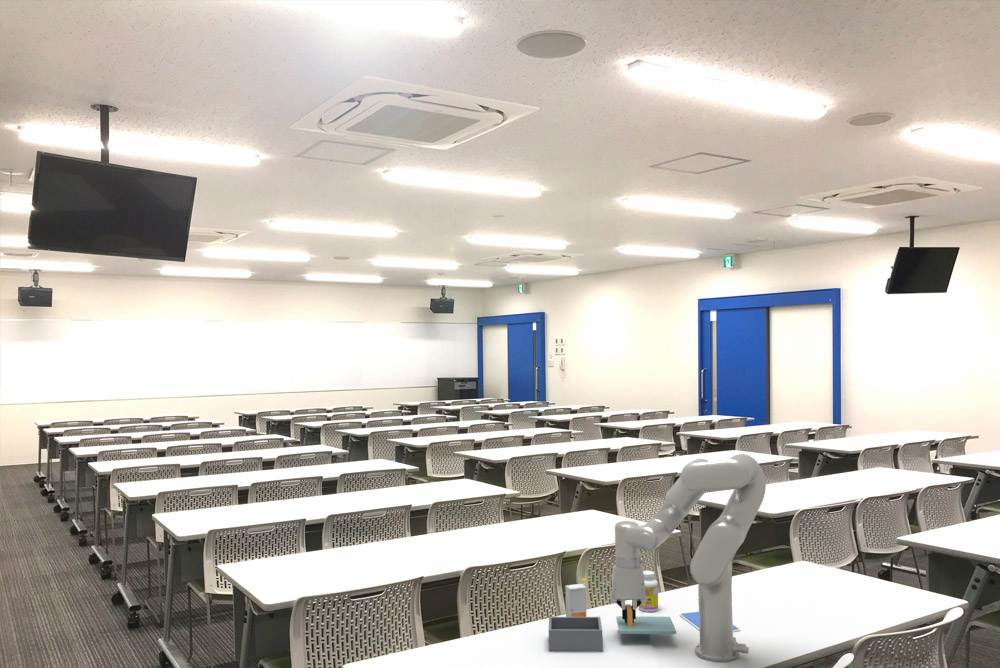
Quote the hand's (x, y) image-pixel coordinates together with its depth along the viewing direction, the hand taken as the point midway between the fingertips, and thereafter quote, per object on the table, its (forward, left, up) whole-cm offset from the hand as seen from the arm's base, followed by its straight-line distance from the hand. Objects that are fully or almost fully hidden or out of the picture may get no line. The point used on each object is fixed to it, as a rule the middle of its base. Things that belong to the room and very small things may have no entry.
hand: (629, 621), depth 237 cm
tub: (+13, +12, -6) cm, 19 cm away
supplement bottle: (+3, -30, -6) cm, 31 cm away
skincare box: (+21, -8, -6) cm, 23 cm away
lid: (-5, -2, -2) cm, 5 cm away
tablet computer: (-19, -25, -7) cm, 32 cm away
